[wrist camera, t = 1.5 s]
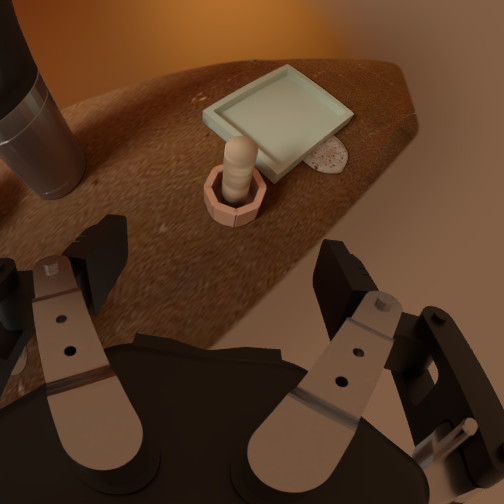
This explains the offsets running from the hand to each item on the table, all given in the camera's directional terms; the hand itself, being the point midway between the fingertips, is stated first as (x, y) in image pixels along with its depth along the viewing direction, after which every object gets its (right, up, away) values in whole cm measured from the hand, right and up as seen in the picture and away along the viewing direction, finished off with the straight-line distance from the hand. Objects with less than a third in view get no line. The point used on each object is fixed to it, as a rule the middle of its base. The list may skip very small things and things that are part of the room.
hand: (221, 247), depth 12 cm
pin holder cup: (-1, +6, +25) cm, 26 cm away
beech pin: (-1, +6, +25) cm, 25 cm away
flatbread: (+11, +14, +29) cm, 34 cm away
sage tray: (+5, +19, +30) cm, 36 cm away
